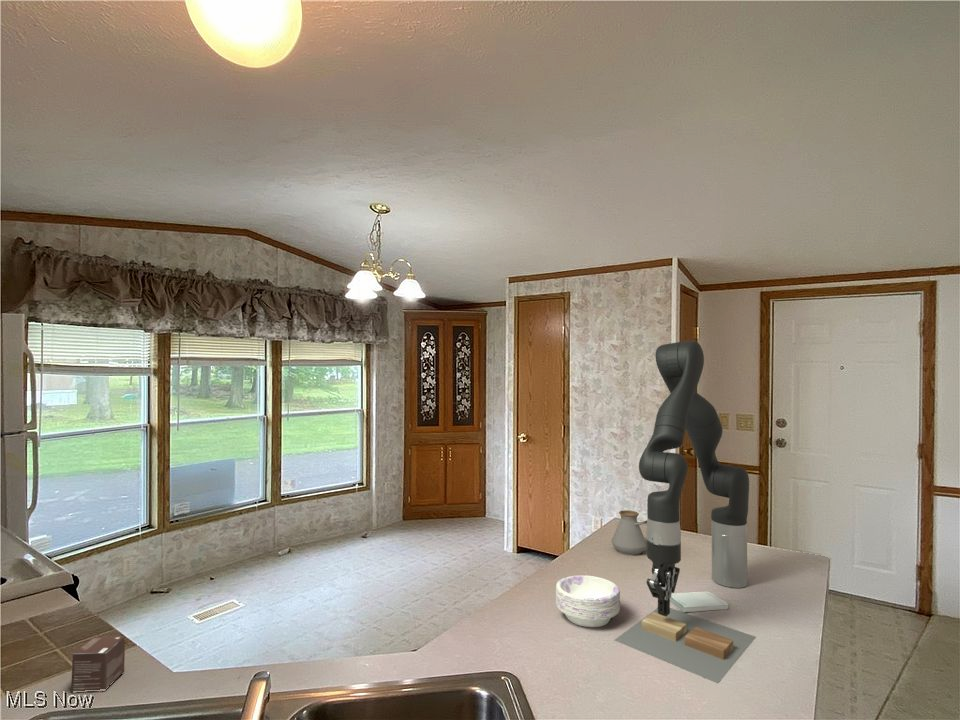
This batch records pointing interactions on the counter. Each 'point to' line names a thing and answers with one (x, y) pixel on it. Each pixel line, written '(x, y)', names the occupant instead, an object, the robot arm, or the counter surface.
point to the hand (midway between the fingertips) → (663, 614)
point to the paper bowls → (588, 600)
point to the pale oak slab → (664, 626)
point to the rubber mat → (683, 654)
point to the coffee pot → (629, 534)
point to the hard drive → (697, 601)
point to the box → (98, 663)
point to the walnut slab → (709, 643)
